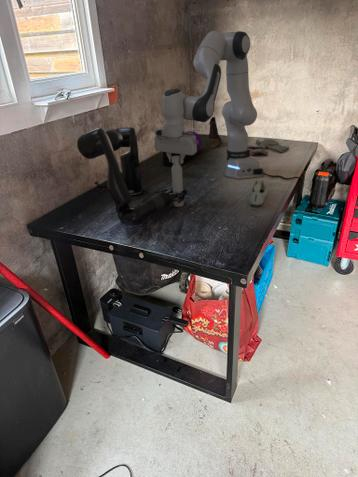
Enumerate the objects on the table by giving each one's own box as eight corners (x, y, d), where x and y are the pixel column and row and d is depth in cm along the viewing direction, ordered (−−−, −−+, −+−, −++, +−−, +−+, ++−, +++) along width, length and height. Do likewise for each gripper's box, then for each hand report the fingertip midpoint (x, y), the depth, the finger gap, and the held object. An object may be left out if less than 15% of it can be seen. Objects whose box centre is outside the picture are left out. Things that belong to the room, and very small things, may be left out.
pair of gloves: (254, 158, 215) (254, 150, 212) (233, 149, 235) (233, 142, 233) (291, 151, 224) (292, 143, 222) (268, 143, 245) (268, 136, 242)
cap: (182, 162, 147) (182, 156, 146) (176, 164, 145) (176, 158, 144) (176, 160, 150) (176, 155, 149) (170, 162, 148) (169, 157, 146)
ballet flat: (269, 188, 169) (270, 173, 165) (265, 208, 149) (266, 191, 145) (252, 187, 171) (253, 172, 167) (246, 206, 151) (247, 190, 147)
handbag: (173, 167, 207) (170, 126, 195) (161, 165, 212) (158, 125, 199) (189, 158, 222) (188, 119, 209) (178, 157, 226) (176, 119, 214)
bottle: (185, 204, 157) (183, 157, 146) (177, 207, 155) (174, 160, 144) (180, 201, 161) (177, 155, 149) (171, 204, 159) (168, 157, 147)
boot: (222, 140, 259) (222, 113, 249) (219, 148, 239) (219, 120, 229) (211, 140, 261) (211, 114, 251) (207, 148, 241) (207, 120, 231)
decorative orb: (204, 151, 235) (204, 129, 228) (194, 156, 225) (193, 134, 217) (186, 149, 243) (186, 128, 235) (175, 154, 232) (174, 132, 224)
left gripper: (169, 198, 139) (193, 185, 151) (145, 191, 147) (169, 180, 159) (171, 214, 143) (193, 200, 154) (146, 206, 151) (170, 194, 162)
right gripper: (199, 131, 138) (199, 163, 145) (159, 128, 148) (162, 158, 155) (191, 134, 133) (192, 167, 140) (151, 131, 143) (154, 162, 150)
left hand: (181, 190), depth 156 cm, fingers closed on bottle, 5 cm apart
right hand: (176, 162), depth 148 cm, fingers closed on cap, 4 cm apart
